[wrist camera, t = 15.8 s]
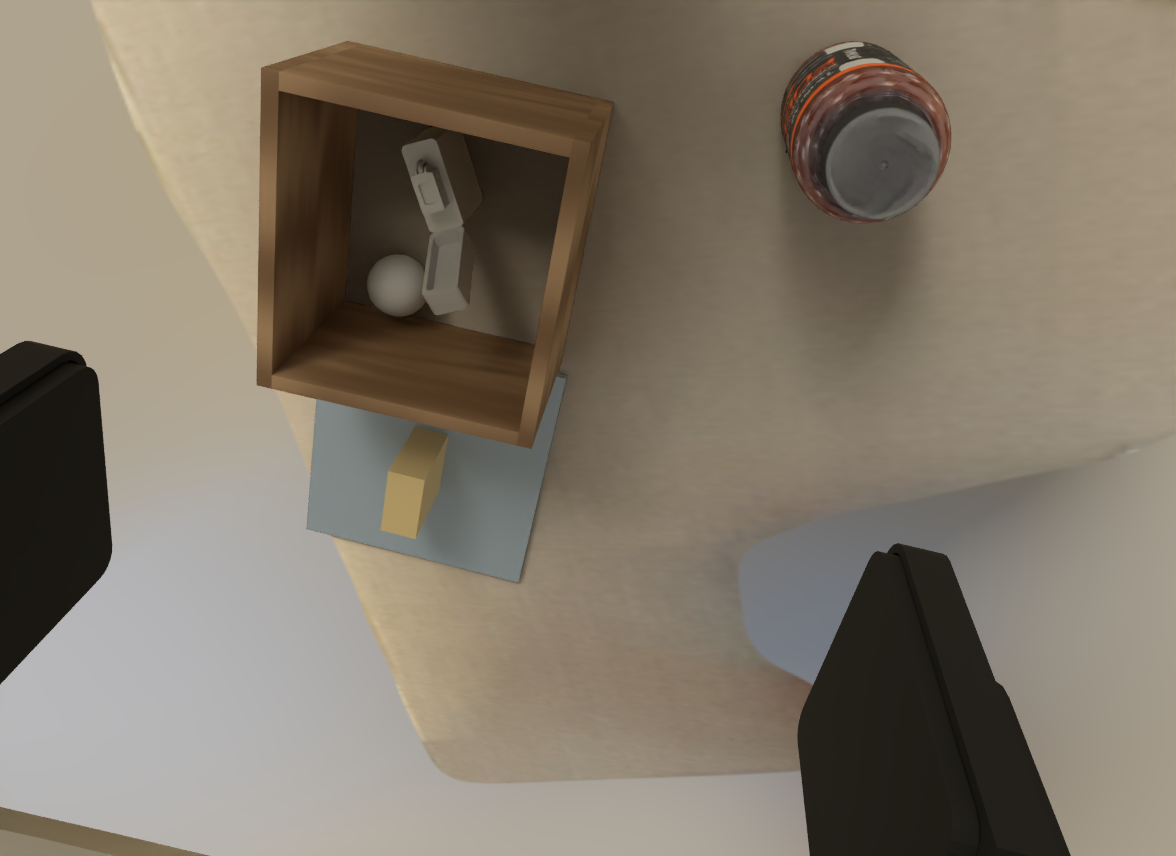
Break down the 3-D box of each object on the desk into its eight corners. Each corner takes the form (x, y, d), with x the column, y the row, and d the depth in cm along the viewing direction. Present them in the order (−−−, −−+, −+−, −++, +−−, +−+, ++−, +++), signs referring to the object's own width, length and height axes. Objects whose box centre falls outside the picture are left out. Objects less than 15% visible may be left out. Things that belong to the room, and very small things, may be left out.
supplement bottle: (804, 23, 40) (834, 53, 31) (932, 58, 40) (1004, 99, 31) (760, 155, 43) (775, 222, 33) (880, 188, 43) (930, 263, 34)
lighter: (425, 128, 45) (373, 165, 38) (458, 119, 44) (411, 155, 37) (470, 263, 48) (430, 321, 41) (501, 257, 47) (465, 313, 40)
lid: (329, 310, 51) (286, 354, 45) (568, 371, 51) (552, 421, 45) (312, 520, 58) (272, 578, 53) (521, 572, 58) (502, 636, 53)
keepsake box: (347, 41, 43) (261, 67, 35) (613, 102, 43) (590, 143, 35) (331, 309, 50) (256, 385, 42) (560, 362, 50) (531, 449, 42)
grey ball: (380, 240, 48) (360, 259, 45) (439, 253, 48) (423, 273, 45) (376, 296, 49) (356, 318, 46) (433, 309, 49) (416, 332, 46)
